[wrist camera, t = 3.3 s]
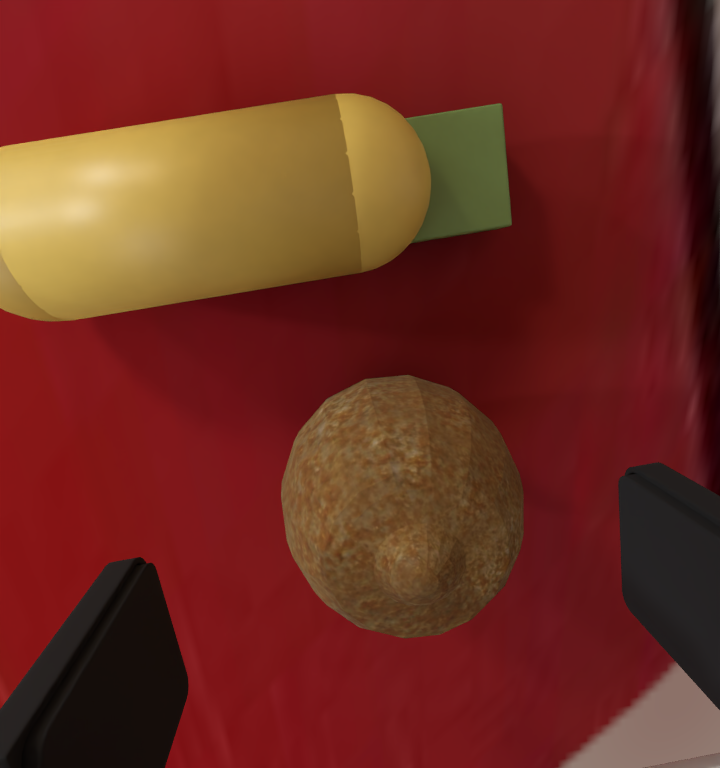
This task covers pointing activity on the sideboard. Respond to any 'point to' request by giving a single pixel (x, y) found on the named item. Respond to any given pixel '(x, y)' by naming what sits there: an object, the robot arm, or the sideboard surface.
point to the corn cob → (239, 202)
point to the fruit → (402, 506)
